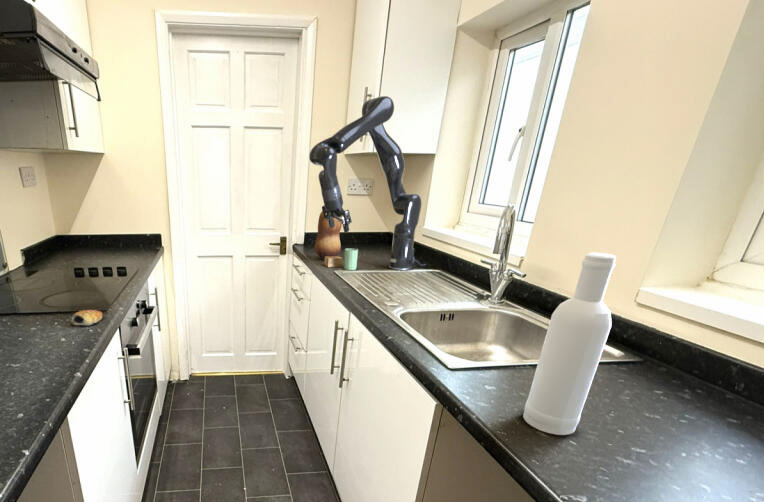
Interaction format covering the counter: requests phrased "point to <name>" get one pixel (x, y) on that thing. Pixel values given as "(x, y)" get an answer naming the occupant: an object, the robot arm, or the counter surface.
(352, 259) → the cup
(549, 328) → the bottle
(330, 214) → the robot arm
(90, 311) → the pastry
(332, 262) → the block
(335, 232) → the butternut squash
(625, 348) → the counter surface
